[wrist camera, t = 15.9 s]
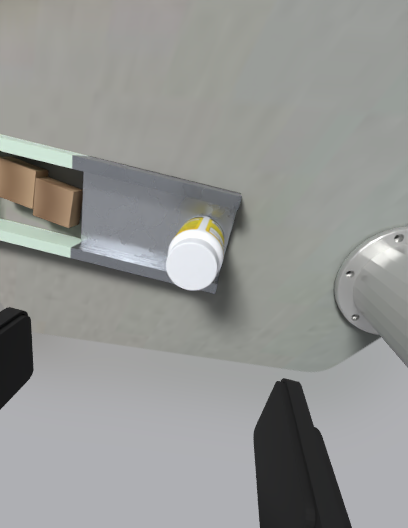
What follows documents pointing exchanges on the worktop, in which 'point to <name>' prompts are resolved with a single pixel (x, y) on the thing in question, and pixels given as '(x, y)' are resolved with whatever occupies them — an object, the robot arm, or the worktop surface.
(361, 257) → the robot arm
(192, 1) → the worktop surface
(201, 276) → the supplement bottle
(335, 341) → the worktop surface
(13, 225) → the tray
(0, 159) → the chip
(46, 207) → the brown block
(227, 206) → the channel
